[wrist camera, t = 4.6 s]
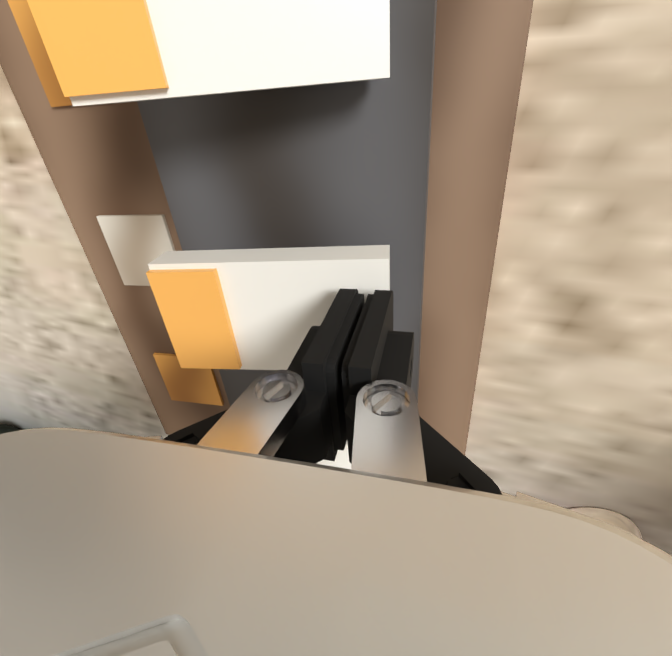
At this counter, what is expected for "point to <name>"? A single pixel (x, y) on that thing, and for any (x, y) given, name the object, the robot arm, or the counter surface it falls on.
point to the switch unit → (300, 188)
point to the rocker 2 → (256, 299)
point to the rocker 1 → (209, 45)
